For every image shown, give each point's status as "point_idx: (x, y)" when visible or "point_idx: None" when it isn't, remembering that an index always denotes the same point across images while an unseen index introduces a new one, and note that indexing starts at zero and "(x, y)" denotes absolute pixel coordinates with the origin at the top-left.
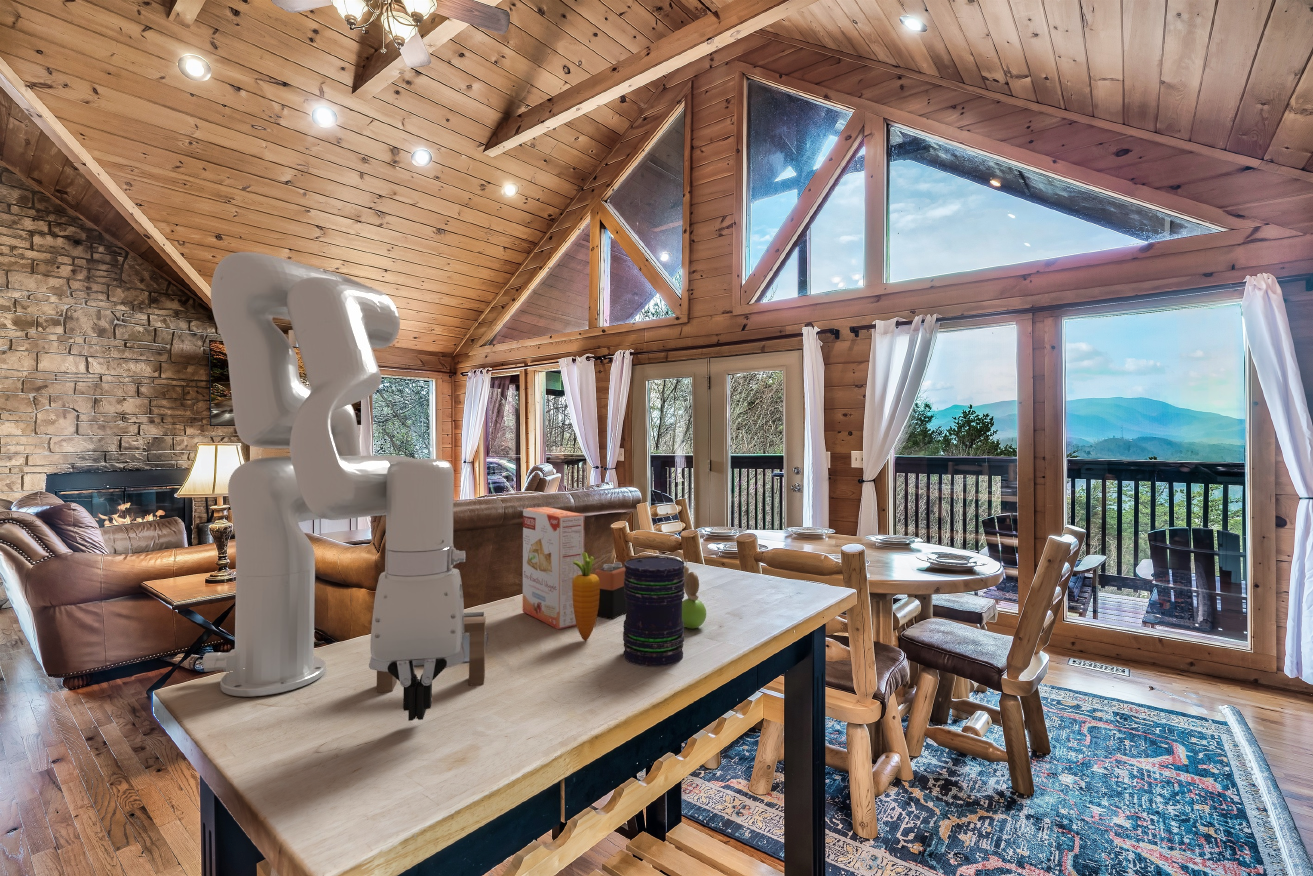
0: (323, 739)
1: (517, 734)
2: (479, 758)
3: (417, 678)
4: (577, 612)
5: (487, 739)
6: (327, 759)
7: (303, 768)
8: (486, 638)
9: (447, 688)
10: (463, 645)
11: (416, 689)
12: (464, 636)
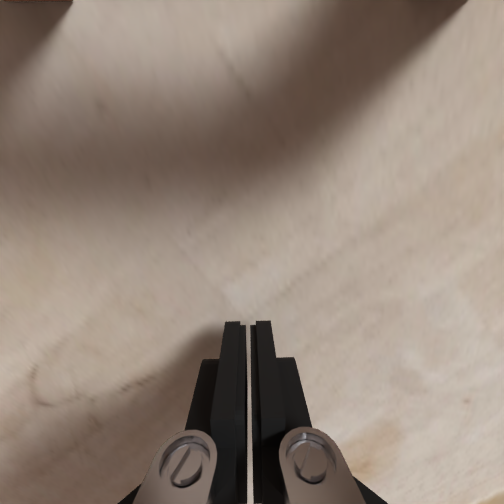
0: (19, 352)
1: (493, 398)
2: (396, 468)
3: (234, 419)
4: None
5: (422, 408)
6: (82, 433)
7: (51, 455)
8: None
9: (312, 14)
10: None
11: (246, 460)
12: None
